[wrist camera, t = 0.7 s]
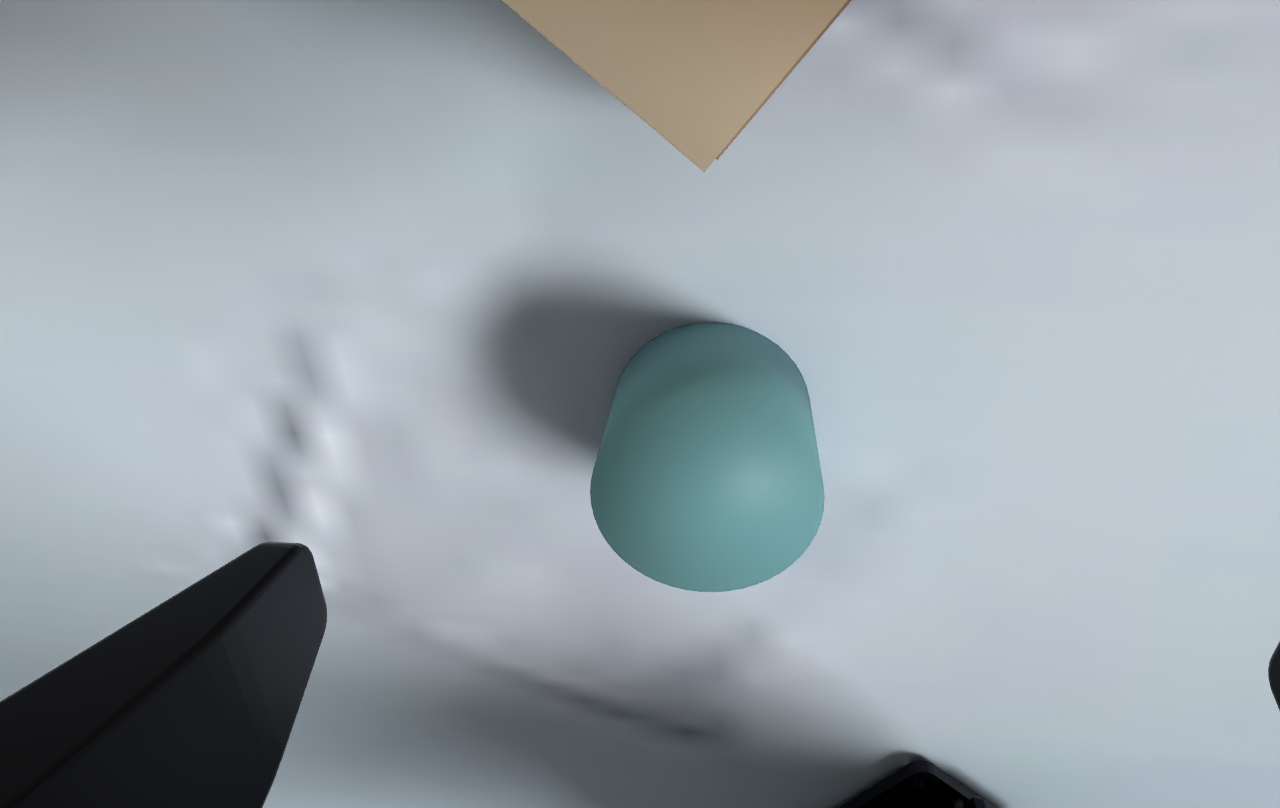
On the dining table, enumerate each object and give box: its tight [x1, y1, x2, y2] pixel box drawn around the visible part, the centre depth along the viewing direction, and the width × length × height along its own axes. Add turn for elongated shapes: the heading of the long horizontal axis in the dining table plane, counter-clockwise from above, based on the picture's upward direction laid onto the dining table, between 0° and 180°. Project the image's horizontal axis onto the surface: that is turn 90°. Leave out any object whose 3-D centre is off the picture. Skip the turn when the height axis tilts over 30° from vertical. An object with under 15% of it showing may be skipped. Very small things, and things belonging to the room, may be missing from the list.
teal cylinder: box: [590, 323, 824, 592], centre depth 20 cm, size 5×5×4 cm
